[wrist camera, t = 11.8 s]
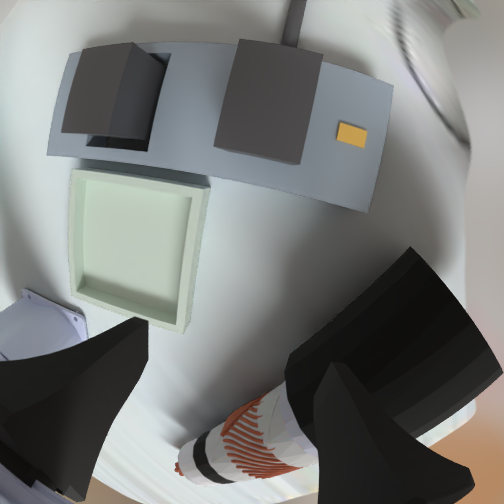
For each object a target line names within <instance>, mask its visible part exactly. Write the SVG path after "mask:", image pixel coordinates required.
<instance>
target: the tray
mask: <svg viewBox="0 0 504 504" xmlns="http://www.w3.org/2000/svg"><path fill="white" fill-rule="evenodd" d="M210 188H211V187H207V186H202V185H196V184H191V183H185V182H180V181H174V180H168V179H162V178H156V177H150V176H143V175H137V174H130V173H123V172H116V171H109V170H101V169H93V168H78V169H72V173H71V184H70V197H69V220H68V249H69V272H70V286H71V296H73V297H75V298H78V299H80V300H83V301H85V302H88V303H91V304H93V305H96V306H98V307H101V308H104V309H106V310H109V311H112V312H115V313H118V314H120V315H123V316H126V317H129V318H132V317H134V316H136V317H139V318H142V319H145V320H148V321H149V324H150V325H154V326H157V327H160V328H163V329H167V330H170V331H174V332H177V333H181V334H184V332H185V330H186V328H187V326H188V324H189V322H190V317H191V309H192V302H193V294H194V287H195V279H196V272H197V266H198V259H199V252H200V246H201V240H202V234H203V228H204V222H205V216H206V210H207V205H208V199H209V194H210Z"/></svg>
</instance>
